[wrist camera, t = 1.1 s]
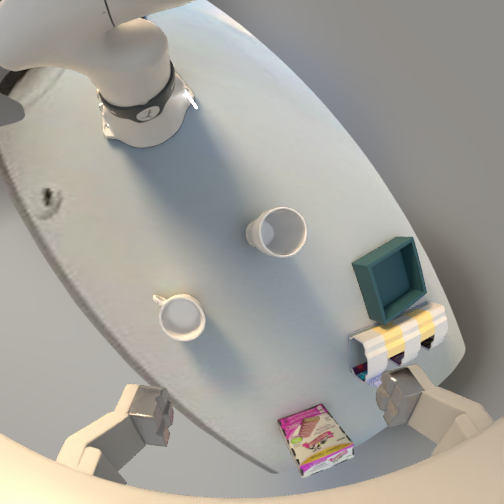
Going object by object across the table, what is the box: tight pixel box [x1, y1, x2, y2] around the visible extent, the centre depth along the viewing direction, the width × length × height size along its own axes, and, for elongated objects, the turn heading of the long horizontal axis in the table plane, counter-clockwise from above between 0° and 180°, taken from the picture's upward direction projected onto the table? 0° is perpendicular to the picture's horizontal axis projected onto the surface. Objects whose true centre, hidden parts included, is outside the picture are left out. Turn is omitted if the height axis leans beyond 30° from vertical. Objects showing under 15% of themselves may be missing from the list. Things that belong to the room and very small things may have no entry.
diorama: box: [348, 302, 448, 388], centre depth 51 cm, size 25×10×13 cm, turn 101°
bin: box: [352, 237, 427, 325], centre depth 53 cm, size 14×14×6 cm
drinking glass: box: [246, 207, 307, 258], centre depth 43 cm, size 7×7×15 cm
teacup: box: [153, 294, 206, 341], centre depth 45 cm, size 10×8×5 cm
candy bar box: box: [278, 404, 354, 478], centre depth 46 cm, size 11×5×16 cm, turn 104°
